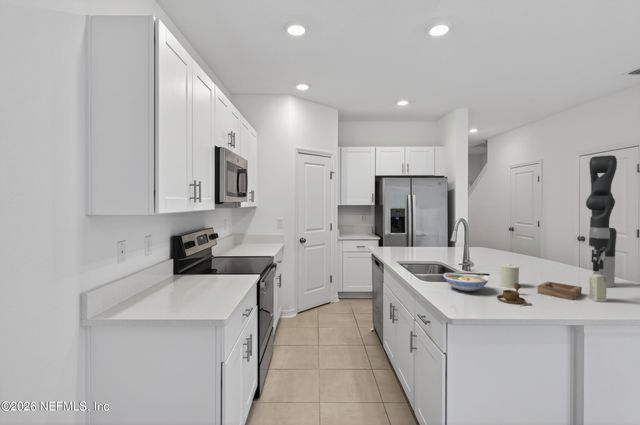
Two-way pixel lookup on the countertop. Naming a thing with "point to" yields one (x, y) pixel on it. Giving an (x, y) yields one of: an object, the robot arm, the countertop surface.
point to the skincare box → (597, 287)
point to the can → (509, 275)
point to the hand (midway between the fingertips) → (598, 270)
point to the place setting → (512, 296)
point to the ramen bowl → (466, 280)
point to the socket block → (559, 290)
